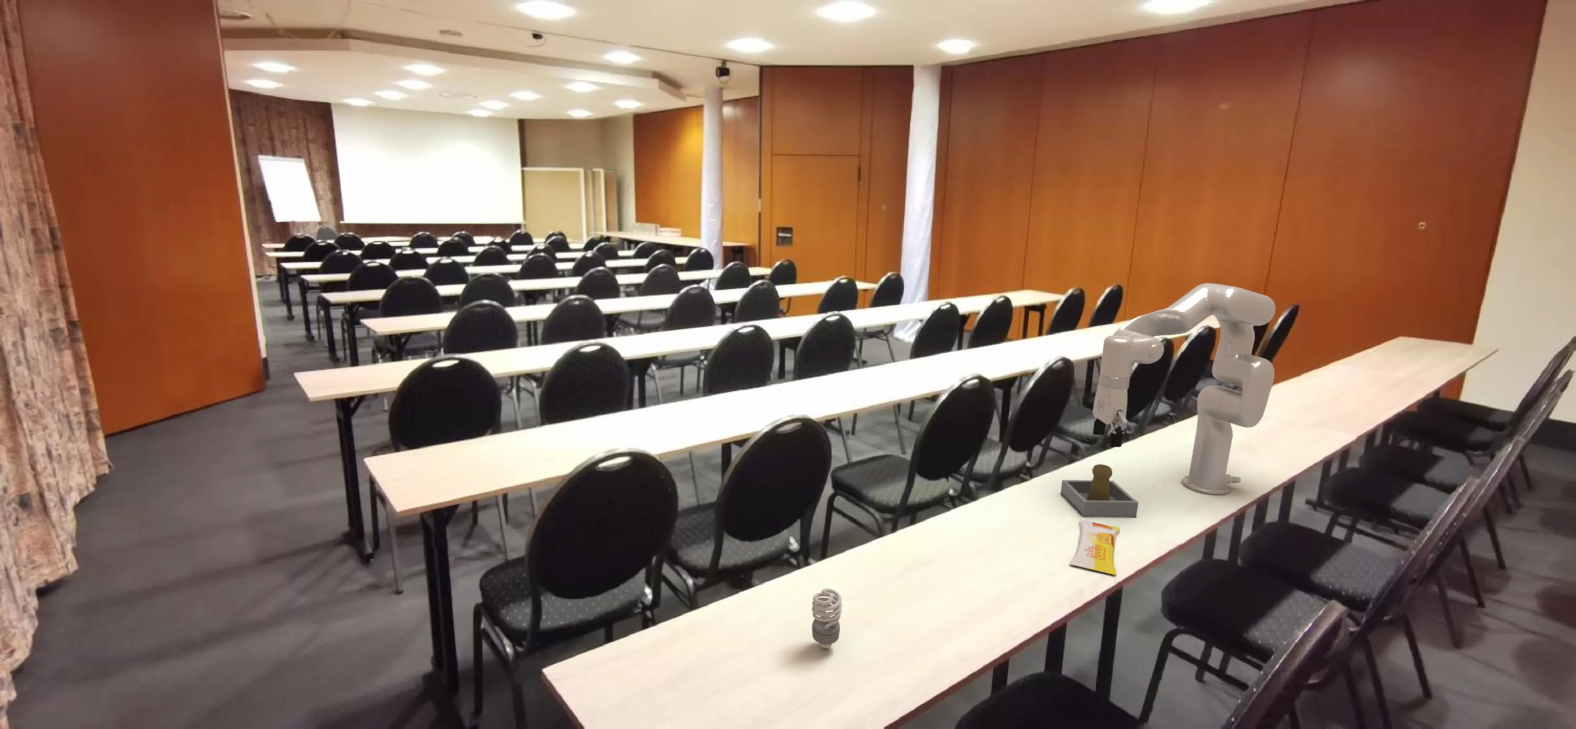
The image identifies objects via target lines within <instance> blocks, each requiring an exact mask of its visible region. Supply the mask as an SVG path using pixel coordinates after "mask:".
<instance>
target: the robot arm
mask: <svg viewBox="0 0 1576 729" xmlns="http://www.w3.org/2000/svg"><path fill="white" fill-rule="evenodd" d="M1275 313H1276V304H1275V302H1274V300H1273V299H1272V298H1271V297H1269V296H1268V295H1265V294H1261V293H1258V292H1255V291H1251V290H1248V289H1245V288H1241V287H1238V286H1233V285H1226V284H1219V283H1209V282H1206V283H1201V284H1198V285H1196V286H1195V287H1194V288H1192V289H1191V290H1190V291H1189V292H1187V293H1186V294H1184V295H1183V296H1181V297H1180V298H1178V300H1176V301H1175V302H1173V303H1172V304H1171V305H1169V306H1168V307H1166V308H1164V309H1163V308H1162V309H1158V310H1156V311H1152V312H1149V313H1146V314H1142V315H1140V316H1139V315H1138V316H1137V317H1134V318H1133V319H1130V320H1129V321H1127V322H1126V323H1125V324H1124V325H1122V326H1120V328H1117V330H1116V331H1115V332H1114V333H1113V335H1108V336H1106V337H1105V338H1104V340H1103V343H1102V344H1103V347H1102V352H1101V353H1102V355H1101V362H1100V370H1099V378H1098V385H1097V388H1096V391H1095V397H1094V403H1093V409H1092V415H1093V416H1094V417H1093V421H1094V422H1093V429H1092V435H1094V436H1103V435H1104V436H1105V434H1106V425H1110V428H1111V432H1110V434H1109V443H1108V446H1109V447H1110V448H1121V447H1122V445H1123V436H1124V434H1125V432H1126V430H1127V426H1128V422H1129V421H1128V420H1127V418H1126V417H1127V409H1128V408H1127V407H1128V389H1130V388H1129V387H1130V379H1131V374H1132V371H1131V370H1132V364H1134V363H1135V364H1147V365H1148V364H1153V363H1156V362H1157V361H1159V360H1160V359H1161V358H1162V356H1163V355H1164V351H1165V348H1164V347H1165V346H1164V345H1163V342H1162V341H1161V340H1160V339H1159V338H1157V337H1161V336H1175V335H1182V334H1186V333H1189V332H1190V331H1191V330H1192V329H1194V328H1196V327H1197V326H1198V325H1199V324H1201V323H1202V322H1203V321H1205V320H1206V319H1207V318H1209V317H1211V316H1214V317H1215V318H1216V320H1217V322H1218V324H1219V327H1220V336H1219V342H1218V345H1217V349H1216V352H1215V356H1214V360H1213V364H1212V368H1211V369H1212V370H1211V372H1212V373H1211V374H1212V376H1213V377H1214V378H1215V379H1216V380H1218V381H1220V382H1223V383H1226V384H1228V385H1232V386H1236V387H1240V388H1242V390H1241V391H1239V390H1238V389H1237V390H1236V389H1233V388H1230V387H1225V386H1223V385H1208V386H1206V387H1204V388H1203V389H1201V390H1200V392H1199V393H1198V395H1197V400H1196V401H1197V402H1196V408H1197V410H1196V411H1197V421H1196V422H1197V423H1196V430H1195V436H1194V443H1193V447H1192V448H1193V449H1192V453H1191V461H1190V465H1189V471H1188V475H1185V476H1183V477H1182V478H1181V483H1182V485H1183V486H1185V487H1186V488H1188V489H1189V490H1193V491H1194V492H1198V493H1200V494H1201V493H1203V494H1206V495H1215V496H1217V495H1219V496H1220V495H1221V496H1222V495H1225V494H1228V493H1229V492H1230V486H1229V485H1230V484H1232V483H1233V484H1240V483H1241V481H1242V479H1241V477H1240V476H1232V475H1231V474H1227V469H1228V464H1229V460H1230V459H1229V458H1230V454H1231V448H1232V442H1233V438H1234V435H1233V434H1234V433H1233V432H1234V431H1233V427H1232V425H1235V426H1239V427H1243V428H1249V429H1250V428H1253V427H1256V426H1257V425H1258V424H1259V423H1260V422H1261V421H1262V418H1263V417H1264V413H1265V411H1266V408H1267V405H1268V401H1269V398H1270V395H1271V391H1272V388H1273V384H1274V379H1275V368H1274V365H1273V364H1272V363H1271V361H1269V360H1268V359H1266V358H1264V357H1260V356H1256V355H1252V352H1253V348H1254V343H1255V337H1256V335H1255V330H1254V327H1253V326H1257V327H1258V326H1263V325H1266V324H1268V323H1269V322H1271V320H1272V319H1273V318H1274V316H1275ZM1116 426H1117V427H1116Z"/></svg>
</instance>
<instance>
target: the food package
mask: <svg viewBox="0 0 1576 729" xmlns="http://www.w3.org/2000/svg"><path fill="white" fill-rule="evenodd" d="M1078 523H1079V525H1080V530H1079V531H1080V532H1079V536H1078V538H1079V539H1078V542H1077V546H1076V550H1075V554H1074V556H1073V558H1071V559H1070V563H1069V564H1070V565H1071V566H1075V567H1080V568H1083V569H1087V570H1092V571H1097V572H1101V573H1104V574H1109V575H1113V576H1115V575H1116V574H1117V570H1116V567H1115V547H1116V541H1117V540H1116V539H1117V535H1118V533H1119V532H1120V531H1121V528H1120V527H1117V526H1113V525H1108V524H1103V523H1098V522H1094V521H1089V520H1085V519H1079V521H1078Z"/></svg>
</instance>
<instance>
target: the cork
mask: <svg viewBox="0 0 1576 729" xmlns="http://www.w3.org/2000/svg"><path fill="white" fill-rule="evenodd" d="M1092 475H1093V477H1092V479H1091V480H1092V483H1091V487H1090V490H1089V494H1088V497H1087V500H1096V501H1110V491H1109V481H1110V479H1111V478H1112V476H1113V469H1112V467H1110V466H1109V465H1106V464H1102V463H1099V464H1098V463H1097V464H1094V466H1093V467H1092Z"/></svg>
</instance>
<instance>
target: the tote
mask: <svg viewBox="0 0 1576 729" xmlns="http://www.w3.org/2000/svg"><path fill="white" fill-rule="evenodd" d="M1092 480H1093V479H1090V480H1086V479H1085V480H1082V479H1081V480H1080V479H1079V480H1078V479H1077V480H1076V479H1070V480H1069V479H1062V480H1061V486H1060V496H1061V497H1062V498H1064V500H1065V501H1066V502H1067V503H1068V504H1069V505H1070V506H1071V507H1072V508H1073V509H1074V510H1075V511H1076V512H1077V513H1078V514H1079V515H1080V516H1081V517H1082V518H1132V519H1133V518H1137V515H1138V509H1139V501H1138V500H1137V499H1135V498H1134V497H1133V496H1131V495H1130V494H1129V493H1128V492H1127V491H1126V490H1124V489H1123V488H1122V487H1121V486H1119V485H1118V484H1117V483H1116V482H1115V481H1114V480H1109V491H1110V501H1096V500H1087V497H1088V494H1089V490H1090V487H1091V483H1092Z"/></svg>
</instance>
